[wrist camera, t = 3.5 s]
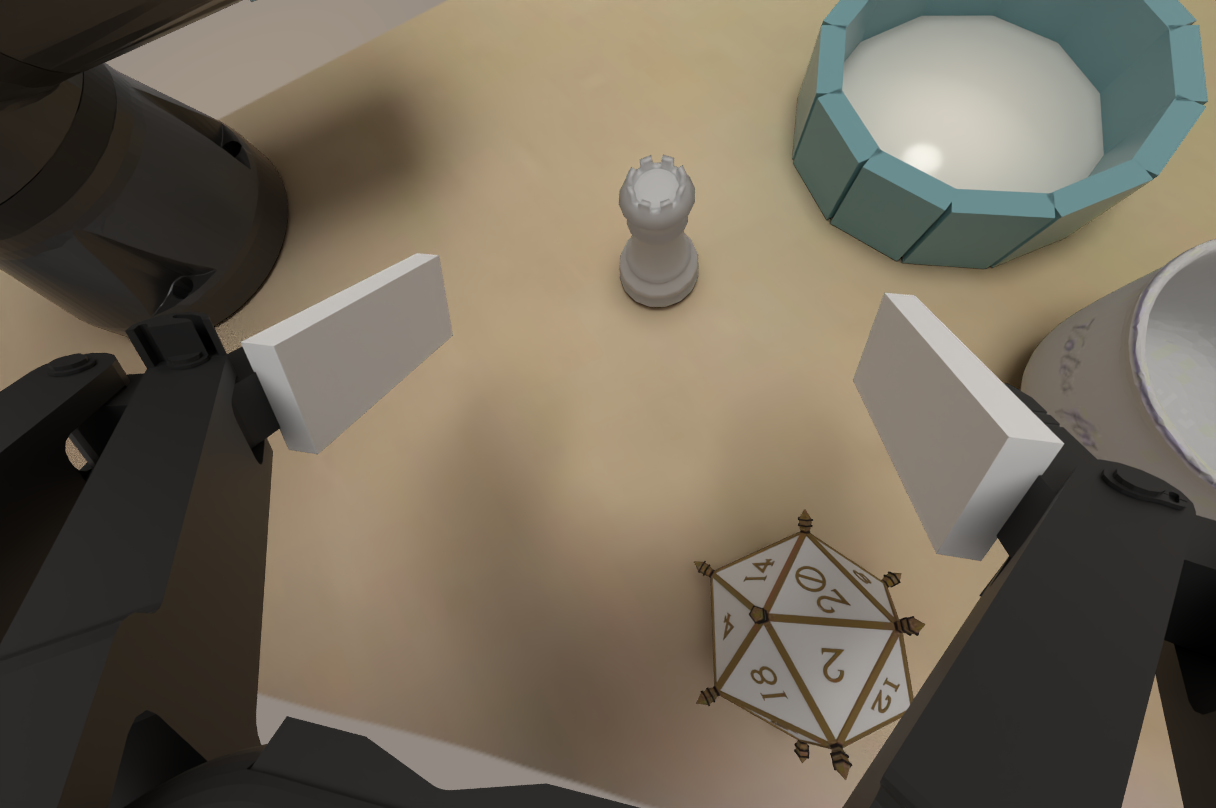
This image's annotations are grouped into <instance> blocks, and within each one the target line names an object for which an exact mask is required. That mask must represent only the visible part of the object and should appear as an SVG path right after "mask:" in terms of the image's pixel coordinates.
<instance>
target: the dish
mask: <svg viewBox="0 0 1216 808" xmlns="http://www.w3.org/2000/svg"><path fill="white" fill-rule="evenodd" d="M1195 21H1196V19H1195V18H1194V17H1193V16H1192V15H1191V14H1190V13H1189V12H1188V11H1187V9H1186V8H1185V7H1184V6H1183V5H1182V4H1181V3H1180V2H1179V1H1178V0H840V1H839V2H838V3H837V5H836V6H835V7H834V8H833V9H832V11H831V12H830V13H829V14H828V16H827V17H826V18H825V19H824V20H823V23H822V25H821V28H820V31H819V34H818V37H817V40H816V43H815V47H814V50H813V53H812V56H811V59H810V62H809V65H808V68H807V71H806V74H805V77H804V81H803V84H802V87H801V90H800V93H799V96H798V99H797V109H796V121H795V133H794V145H793V157H792V159H795V160H794V163H793V164H794V165H795V167H796V169H797V170H798V172H799V174H800V175H801V177H802V179H803V181H804V182H805V184H806V186H807V187H808V189H809V191H810V192H811V194H812V196H813V198H814V199H815V201H816V203H817V204H818V206H819V208H820V209H821V211H822V213H823V215H824V216H825V218H826V220H827V219H830V218H832V217H833V219H832V221H831V224H832V225H834V226H836V227H838V228H839V229H841V230H843V231H845V232H846V233H848V234H850V235H852V236H853V237H855V238H857V239H859V240H860V241H862V242H864V243H866V244H867V245H869V246H871V247H873V248H874V249H876V250H878V251H880V252H881V253H883V254H885V255H887V256H888V257H890V258H892V259H894V260H895V261H898V260H899V259H900V258H901V257H902V255H903V258H902V263H910V264H924V265H938V266H952V267H966V268H980V269H987V268H988V267H989V266H991V268H993V267H995V266H998V265H1000V264H1003V263H1005V262H1008V261H1010V260H1013V259H1015V258H1017V257H1020V256H1022V255H1025V254H1027V253H1030V252H1032V251H1034V250H1037V249H1039V248H1042V247H1044V246H1047V245H1049V244H1052V243H1054V242H1056V241H1059V240H1061V239H1064V238H1066V237H1068V236H1069V235H1071V234H1072V233H1074V232H1075V231H1077V230H1078V229H1080V228H1081V227H1083V226H1084V225H1086V224H1087V223H1089V222H1090V221H1092V220H1093V219H1095V218H1096V217H1098V216H1099V215H1101V214H1102V213H1104V212H1105V211H1107V210H1108V209H1110V208H1111V207H1113V206H1114V205H1116V204H1117V203H1119V202H1120V201H1122V200H1123V199H1125V198H1126V197H1128V196H1129V195H1131V194H1132V193H1134V192H1135V191H1137V190H1138V189H1140V188H1141V187H1143V186H1144V185H1146V184H1147V183H1149V182H1150V181H1152V180H1153V179H1154V178H1155V177H1157V176H1158V175H1159V174H1160V172H1161V171H1162V170H1163V168H1164V167H1165V165H1166V164H1167V162H1168V161H1169V160H1170V158H1171V157H1172V155H1173V154H1174V152H1175V151H1176V150H1177V148H1178V147H1179V145H1180V144H1181V142H1182V141H1183V139H1184V138H1185V137H1186V135H1187V134H1188V132H1189V131H1190V129H1191V128H1192V127H1193V125H1194V124H1195V122H1196V121H1197V119H1198V118H1199V117H1200V115H1201V114H1202V112H1203V111H1204V109H1205V108H1206V106H1204V104H1205V103H1206V102H1208V99H1207V90H1206V81H1205V72H1204V64H1203V55H1202V46H1201V37H1200V28H1199V25H1192V24H1193V23H1194V22H1195Z"/></svg>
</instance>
